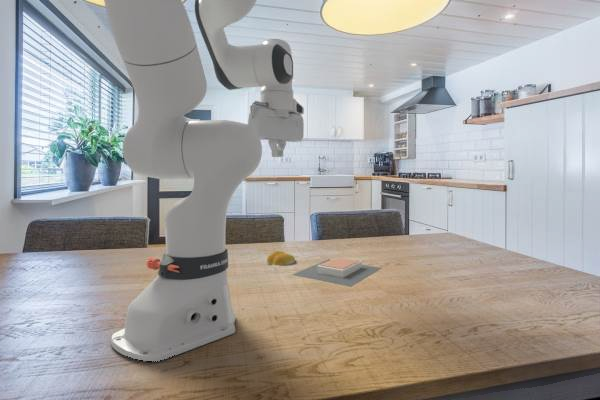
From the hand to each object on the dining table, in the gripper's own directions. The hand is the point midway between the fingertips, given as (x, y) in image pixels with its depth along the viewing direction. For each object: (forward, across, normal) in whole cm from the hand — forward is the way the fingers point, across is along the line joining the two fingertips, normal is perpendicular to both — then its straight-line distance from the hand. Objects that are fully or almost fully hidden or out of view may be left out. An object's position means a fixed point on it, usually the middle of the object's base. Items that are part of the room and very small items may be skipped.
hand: (277, 157), depth 99 cm
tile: (+31, +6, -13) cm, 34 cm away
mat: (+33, +11, -13) cm, 37 cm away
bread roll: (+34, +11, +7) cm, 36 cm away
